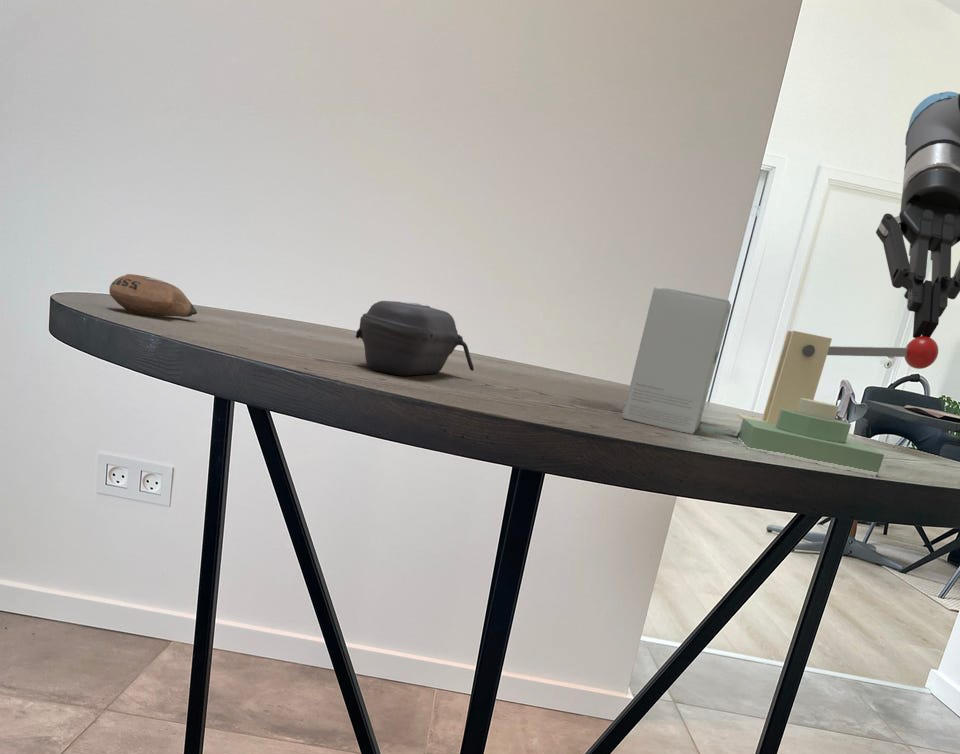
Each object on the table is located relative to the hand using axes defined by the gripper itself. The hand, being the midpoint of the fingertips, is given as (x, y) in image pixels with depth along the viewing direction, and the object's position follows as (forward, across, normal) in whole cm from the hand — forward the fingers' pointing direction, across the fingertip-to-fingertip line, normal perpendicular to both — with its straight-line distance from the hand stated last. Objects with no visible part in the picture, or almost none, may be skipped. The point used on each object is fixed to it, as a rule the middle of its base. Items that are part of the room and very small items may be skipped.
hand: (925, 330), depth 110 cm
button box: (+28, +14, +7) cm, 32 cm away
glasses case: (+27, +54, +6) cm, 60 cm away
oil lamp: (+26, +83, +5) cm, 87 cm away
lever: (+4, +6, -3) cm, 8 cm away
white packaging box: (+26, +28, +6) cm, 39 cm away
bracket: (+11, +13, -10) cm, 19 cm away
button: (+25, +14, +10) cm, 30 cm away
